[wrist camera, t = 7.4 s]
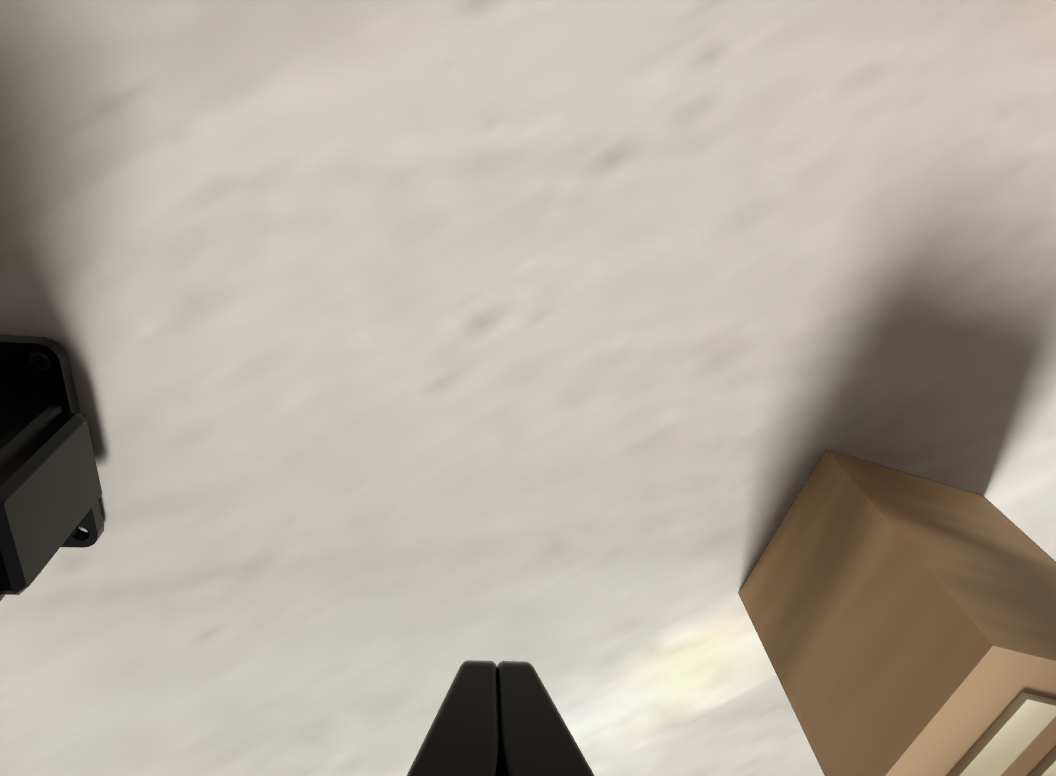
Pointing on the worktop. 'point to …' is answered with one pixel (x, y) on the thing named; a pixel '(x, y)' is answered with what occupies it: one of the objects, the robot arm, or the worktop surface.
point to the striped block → (909, 627)
